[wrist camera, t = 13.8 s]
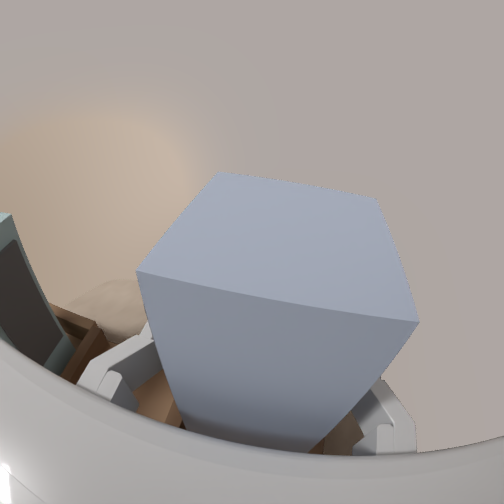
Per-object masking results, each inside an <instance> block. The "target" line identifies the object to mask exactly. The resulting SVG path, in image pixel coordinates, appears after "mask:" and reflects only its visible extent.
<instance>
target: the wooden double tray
mask: <svg viewBox="0 0 504 504" xmlns="http://www.w3.org/2000/svg"><path fill="white" fill-rule="evenodd" d="M49 305H50V307H51V308H52V310H53V312H54V314H55V316H56V318H57V319H58V321H59V323H60V325H61V326H62V328H63V330H64V331H65V333H66V335H67V336H68V338H69V340H70V341H71V343H72V345H73V346H74V348H75V349H76V351H75V353H74V354H73V356H72V357H71V359H70V361H69V362H68V364H67V365H66V367H65V369H64V370H63V372H62V374H61V375H60V377H61V378H63V379H65V380H67V381H69V382H70V383H72V384H74V385H76V384H77V382H78V381H79V379H80V377H81V375H82V374H83V372H84V370H85V369H86V367H87V365H88V364H89V362H90V360H92V359H94V358H96V357H97V356H99V355H101V354H103V353H104V352H106V351H108V350H110V349H112V348H113V347H115V346H117V345H118V344H116V343H113V342H110V341H107V339H106V337H105V335H104V333H103V331H102V329H100V328H98V326H97V324H96V322H95V321H93V320H90V319H88V318H85V317H82V316H80V315H77V314H75V313H72V312H70V311H67V310H65V309H62V308H60V307H58V306H55V305H53V304H51V303H49ZM132 393H133V394H134V396H135V397H136V399H137V400H138V402H139V406H138V408H137V411H136V413H138V414H140V415H143V416H146V417H148V418H151V419H154V420H157V421H159V422H162V423H165V424H168V425H171V426H175V427H178V428H181V429H184V430H186V427H185V425H184V423H183V420H182V418H181V415H180V413H179V410H178V408H177V405H176V403H175V400H174V398H173V395H172V392H171V390H170V387H169V384H168V381H167V379H166V376H165V373H164V370H163V369H162V370H161V371H159V372H158V373H157V374H155V375H154V376H153V377H151V378H150V379H149V380H147V381H146V382H145V383H143V384H142V385H141V386H140V387H138V388H137V389H136V390H134V391H133V392H132ZM323 447H324V438H323V439H322V440H321V441H320V442H319V443H317V444H316V445H315V446H314V447H313V448H312V449H311V450H310V451H309V452H308V454H321V455H323Z"/></svg>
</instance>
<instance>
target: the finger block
mask: <svg viewBox="0 0 504 504" xmlns="http://www.w3.org/2000/svg"><path fill="white" fill-rule="evenodd" d="M136 273H137V278H138V282H139V287H140V291H141V295H142V299H143V303H144V308H145V312H146V315H147V319H148V322H149V326H150V329H151V333H152V336H153V339H154V343H155V346H156V349H157V352H158V355H159V358H160V361H161V364H162V367H163V370H164V373H165V376H166V379H167V381H168V384H169V387H170V390H171V392H172V395H173V398H174V400H175V403H176V405H177V408H178V410H179V413H180V415H181V418H182V420H183V423H184V425H185V427H186V430H188V431H191V432H195V433H198V434H202V435H206V436H209V437H213V438H217V439H222V440H226V441H230V442H235V443H240V444H245V445H250V446H256V447H262V448H268V449H274V450H281V451H289V452H298V453H308V452H309V451H310V450H311V449H312V448H313V447H314V446H315V445H316V444H317V443H319V442H320V441H321V440H322V439H323V438H324V437H325V436H326V435H327V434H328V433H329V432H330V431H331V430H332V429H333V428H334V427H335V426H336V425H337V424H338V423H339V422H340V421H341V420H342V419H343V418H344V417H345V416H346V415H347V414H348V412H349V411H350V410H351V409H352V408H353V407H354V406H355V405H356V404H357V403H358V402H359V400H360V399H361V398H362V397H363V396H364V395H365V394H366V392H367V391H368V390H369V389H370V388H371V387H372V385H373V384H374V383H375V382H376V381H377V379H378V378H379V377H380V376H381V374H382V373H383V372H384V370H385V369H386V368H387V367H388V366H389V364H390V363H391V362H392V360H393V359H394V358H395V356H396V355H397V354H398V352H399V351H400V349H401V348H402V347H403V345H404V344H405V342H406V341H407V340H408V338H409V337H410V335H411V334H412V332H413V331H414V330H415V328H416V327H417V325H418V324H419V319H418V315H417V311H416V308H415V304H414V301H413V297H412V294H411V291H410V287H409V284H408V281H407V278H406V275H405V272H404V269H403V267H402V263H401V260H400V257H399V255H398V252H397V249H396V246H395V244H394V241H393V239H392V236H391V233H390V231H389V228H388V226H387V223H386V221H385V218H384V216H383V214H382V211H381V209H380V207H379V205H378V202H377V200H376V199H375V198H371V197H366V196H362V195H357V194H352V193H348V192H343V191H338V190H333V189H328V188H322V187H317V186H311V185H306V184H300V183H294V182H288V181H282V180H276V179H269V178H263V177H256V176H248V175H241V174H233V173H225V172H217V174H216V175H215V176H214V177H213V178H212V179H211V180H210V181H209V183H208V184H207V185H206V186H205V187H204V188H203V189H202V190H201V192H199V194H198V195H197V196H196V197H195V198H194V200H192V202H191V203H190V204H189V205H188V206H187V208H186V209H185V210H184V211H183V212H182V213H181V215H180V216H179V217H178V218H177V219H176V221H175V222H174V223H173V224H172V225H171V227H170V228H169V229H168V230H167V231H166V233H165V234H164V235H163V236H162V237H161V239H160V240H159V241H158V243H157V244H156V245H155V246H154V248H153V249H152V250H151V251H150V252H149V254H148V255H147V256H146V258H145V259H144V260H143V261H142V263H141V264H140V265H139V267H138V268H137V269H136Z"/></svg>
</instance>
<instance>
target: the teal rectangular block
mask: <svg viewBox="0 0 504 504" xmlns="http://www.w3.org/2000/svg"><path fill="white" fill-rule="evenodd" d="M0 339H2V340H4V341H6V342H7V343H8V344H10V345H11V346H12V347H14V348H15V349H16V350H18V351H19V352H21V353H22V354H24V355H25V356H27V357H28V358H30V359H31V360H33V361H35V362H36V363H38V364H39V365H41V366H43V367H44V368H46V369H48V370H49V371H51V372H53V373H54V374H56V375H58V376H60V375H61V374H62V372H63V370H64V369H65V367H66V365H67V364H68V362H69V361H70V359H71V357H72V356H73V354H74V353H75V351H76V349H75V348H74V346H73V345H72V343H71V341H70V340H69V338H68V336H67V335H66V333H65V331H64V330H63V328H62V326H61V325H60V323H59V321H58V319H57V318H56V316H55V314H54V312H53V310H52V308H51V307H50V305H49V303H48V301H47V299H46V297H45V295H44V293H43V291H42V289H41V287H40V285H39V283H38V281H37V278H36V276H35V274H34V272H33V270H32V267H31V265H30V263H29V261H28V259H27V256H26V253H25V251H24V248H23V246H22V243H21V241H20V238H19V235H18V233H17V230H16V227H15V224H14V221H13V218H12V215H11V214H8V213H2V212H0Z"/></svg>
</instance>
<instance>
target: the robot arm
mask: <svg viewBox="0 0 504 504" xmlns="http://www.w3.org/2000/svg"><path fill="white" fill-rule="evenodd" d="M162 369H163V367H162V364H161V361H160V358H159V355H158V352H157V349H156V346H155V343H154V339H153V336H152V333H151V329H150V326H149V322H148V321H147V323H146V324H145V326H144V328H143V330H142V331H141V333H140V335H135V336H133V337H131V338H129V339H127V340H126V341H124V342H122V343H120V344H119V345H117V346H115V347H113V348H112V349H110V350H108V351H106V352H104V353H103V354H101V355H99V356H97V357H96V358H94V359H92V360H90V362H89V364H88V365H87V367H86V369H85V370H84V372H83V374H82V375H81V377H80V379H79V381H78V382H77V384H76V385H74V384H72V383H70V382H69V381H67V380H65V379H63V378H61V377H60V376H58V375H56V374H54V373H53V372H51V371H49V370H48V369H46V368H44V367H43V366H41V365H39V364H38V363H36V362H35V361H33V360H31V359H30V358H28V357H27V356H25V355H24V354H22V353H21V352H19V351H18V350H16V349H15V348H14V347H12V346H11V345H10V344H8V343H7V342H6V341H4V340H2V339H0V504H504V436H502V437H498V438H494V439H490V440H487V441H483V442H479V443H474V444H470V445H465V446H460V447H454V448H449V449H443V450H436V451H429V452H422V453H421V452H420V453H417V446H416V427H415V422H414V420H413V419H412V417H411V416H410V415H409V413H408V412H407V411H406V409H405V408H404V406H403V405H402V404H401V403H400V401H399V400H398V398H397V397H396V395H395V394H394V393H393V391H392V390H391V389H390V387H389V386H388V385H387V383H386V382H385V380H381V376H380V377H379V378H378V379H377V381H376V382H375V383H374V384H373V385H372V387H371V388H370V389H369V390H368V391H367V392H366V394H365V395H364V396H363V397H362V398H361V399H360V400H359V402H358V403H357V404H356V405H355V406H354V407H353V408H352V409H351V411H352V413H353V415H354V417H355V419H356V421H357V422H358V424H359V426H360V428H361V430H362V432H363V434H364V436H365V437H364V438H363V439H361V440H360V441H359V442H357V443H356V444H355V445H354V446H353V449H352V456H341V455H321V454H308V453H298V452H289V451H281V450H274V449H268V448H262V447H256V446H250V445H245V444H240V443H235V442H230V441H226V440H222V439H217V438H213V437H209V436H206V435H202V434H198V433H195V432H191V431H188V430H184V429H181V428H178V427H175V426H171V425H168V424H165V423H162V422H159V421H157V420H154V419H151V418H148V417H146V416H143V415H140V414H138V413H136V411H137V408H138V406H139V402H138V400H137V399H136V397H135V396H134V394H133V393H132V392H133V391H134V390H136V389H137V388H138V387H140V386H141V385H142V384H143V383H145V382H146V381H147V380H149V379H150V378H151V377H153V376H154V375H155V374H157V373H158V372H159V371H161V370H162Z"/></svg>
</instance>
